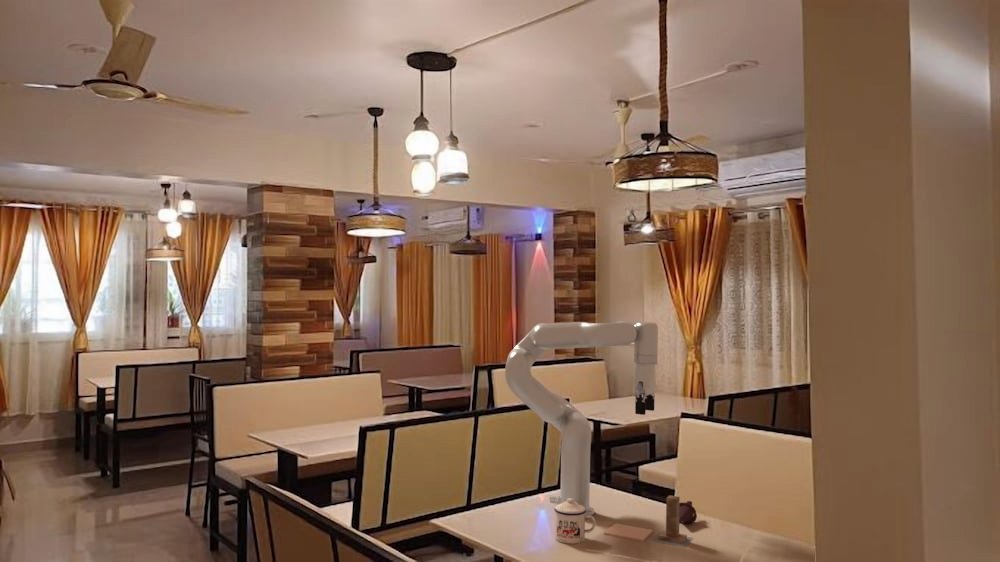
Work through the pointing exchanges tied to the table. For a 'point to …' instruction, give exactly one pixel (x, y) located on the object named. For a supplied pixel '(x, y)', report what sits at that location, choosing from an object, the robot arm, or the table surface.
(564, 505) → the teacup with lid
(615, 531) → the tile
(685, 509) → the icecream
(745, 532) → the table surface
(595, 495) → the table surface
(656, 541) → the mat
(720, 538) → the table surface
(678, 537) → the wooden post with base
